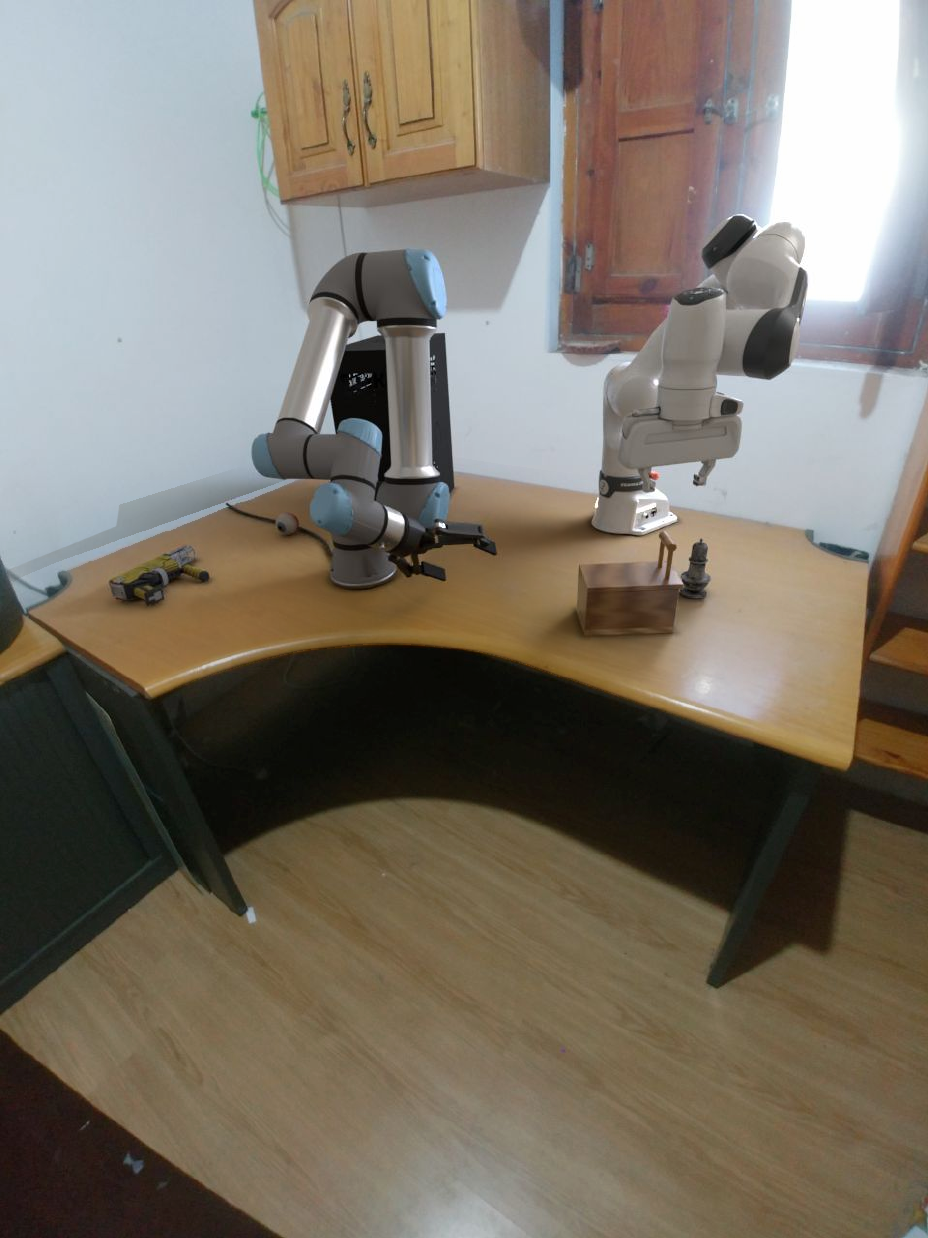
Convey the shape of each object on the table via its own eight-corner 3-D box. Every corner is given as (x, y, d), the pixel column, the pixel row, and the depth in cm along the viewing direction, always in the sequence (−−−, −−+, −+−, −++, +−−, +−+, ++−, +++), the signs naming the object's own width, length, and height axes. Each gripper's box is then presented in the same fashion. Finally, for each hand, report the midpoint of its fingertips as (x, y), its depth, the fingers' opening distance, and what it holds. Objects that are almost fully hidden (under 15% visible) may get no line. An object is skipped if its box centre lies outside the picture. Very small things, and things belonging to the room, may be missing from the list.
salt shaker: (710, 599, 121) (719, 544, 115) (679, 598, 123) (687, 543, 117) (706, 586, 126) (715, 532, 120) (676, 585, 128) (684, 532, 122)
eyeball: (273, 537, 164) (268, 516, 161) (287, 528, 169) (282, 508, 166) (291, 539, 161) (286, 518, 158) (305, 530, 166) (301, 510, 163)
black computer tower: (420, 531, 161) (403, 349, 139) (350, 528, 166) (322, 351, 143) (454, 487, 193) (445, 332, 170) (394, 486, 197) (377, 335, 175)
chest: (658, 606, 121) (663, 565, 116) (673, 632, 112) (679, 589, 107) (576, 609, 121) (578, 569, 117) (584, 635, 112) (587, 593, 108)
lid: (667, 565, 116) (672, 526, 112) (683, 589, 107) (689, 547, 103) (578, 568, 117) (580, 530, 113) (587, 592, 108) (589, 551, 104)
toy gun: (232, 553, 147) (182, 542, 151) (158, 593, 127) (102, 580, 131) (234, 570, 150) (185, 559, 154) (162, 613, 130) (107, 599, 134)
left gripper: (348, 577, 112) (427, 601, 128) (446, 520, 98) (521, 554, 114) (345, 542, 115) (422, 569, 131) (440, 481, 101) (514, 520, 117)
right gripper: (632, 414, 92) (625, 501, 99) (753, 401, 95) (737, 487, 102) (615, 406, 97) (609, 489, 104) (729, 395, 101) (716, 476, 107)
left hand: (468, 562), depth 122 cm, fingers open, 13 cm apart
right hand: (673, 488), depth 103 cm, fingers open, 8 cm apart
